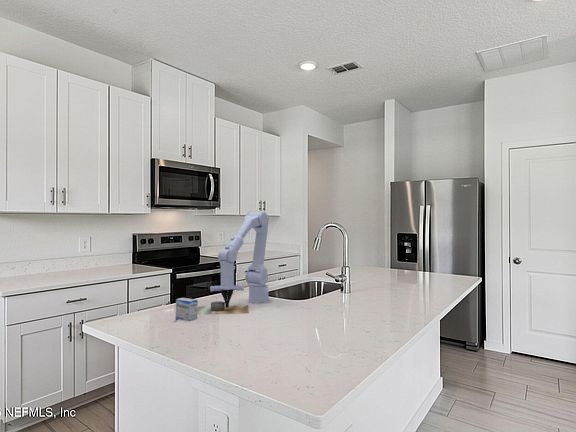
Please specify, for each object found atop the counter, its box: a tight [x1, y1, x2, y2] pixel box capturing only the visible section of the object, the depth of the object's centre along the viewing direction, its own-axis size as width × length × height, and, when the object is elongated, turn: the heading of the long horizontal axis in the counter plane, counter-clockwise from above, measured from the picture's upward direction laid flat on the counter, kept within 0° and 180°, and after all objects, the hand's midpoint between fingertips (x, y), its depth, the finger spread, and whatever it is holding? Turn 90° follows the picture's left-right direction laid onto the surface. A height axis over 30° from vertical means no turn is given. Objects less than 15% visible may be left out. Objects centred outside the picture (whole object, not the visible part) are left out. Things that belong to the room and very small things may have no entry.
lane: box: [197, 304, 249, 316], centre depth 165 cm, size 28×14×1 cm, turn 97°
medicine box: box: [175, 297, 199, 322], centre depth 152 cm, size 8×4×9 cm, turn 62°
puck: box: [210, 300, 226, 311], centre depth 165 cm, size 6×6×3 cm
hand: (227, 307), depth 166 cm, fingers closed
